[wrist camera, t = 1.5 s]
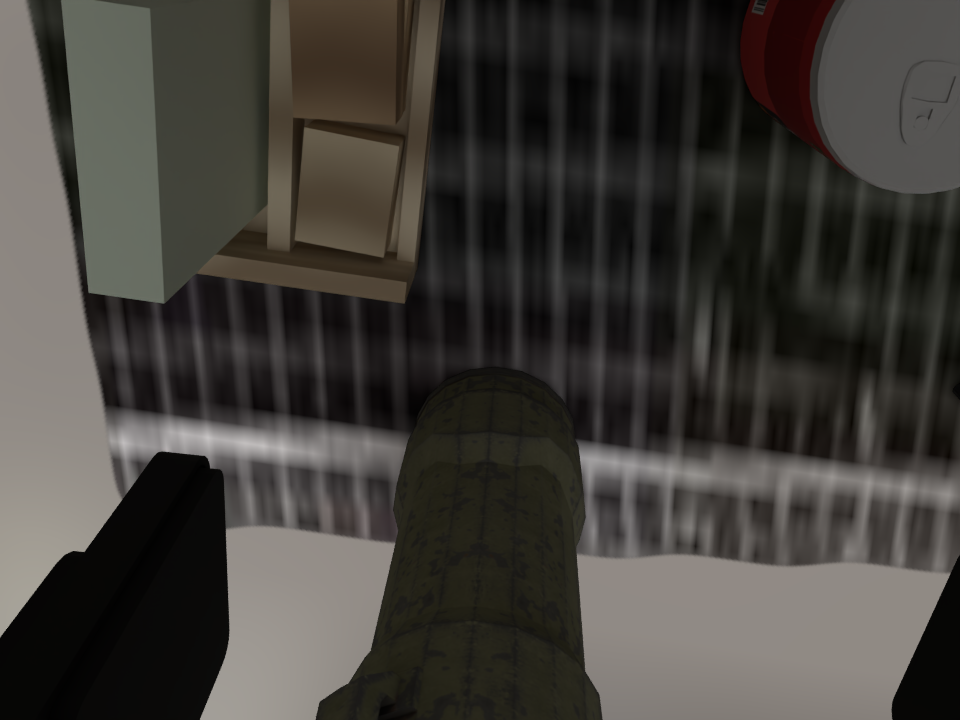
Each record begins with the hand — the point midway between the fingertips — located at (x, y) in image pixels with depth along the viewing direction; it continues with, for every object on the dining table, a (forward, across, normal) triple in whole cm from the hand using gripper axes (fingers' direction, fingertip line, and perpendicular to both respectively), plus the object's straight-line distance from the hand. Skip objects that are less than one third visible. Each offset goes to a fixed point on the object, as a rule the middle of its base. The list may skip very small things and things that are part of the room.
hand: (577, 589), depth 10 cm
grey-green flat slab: (+28, +13, -1) cm, 31 cm away
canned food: (+29, -12, -6) cm, 32 cm away
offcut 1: (+26, +8, -4) cm, 27 cm away
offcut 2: (+28, +8, +2) cm, 29 cm away
